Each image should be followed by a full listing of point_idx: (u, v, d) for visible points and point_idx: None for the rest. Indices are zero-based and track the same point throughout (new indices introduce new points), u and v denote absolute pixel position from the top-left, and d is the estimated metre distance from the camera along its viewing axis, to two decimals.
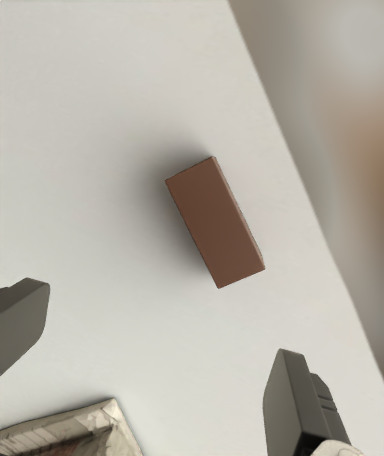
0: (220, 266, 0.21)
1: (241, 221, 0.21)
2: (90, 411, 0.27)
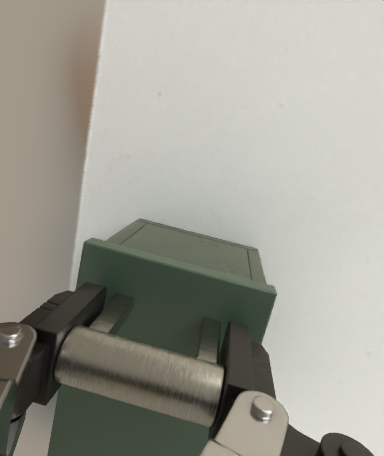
0: None
1: None
2: None
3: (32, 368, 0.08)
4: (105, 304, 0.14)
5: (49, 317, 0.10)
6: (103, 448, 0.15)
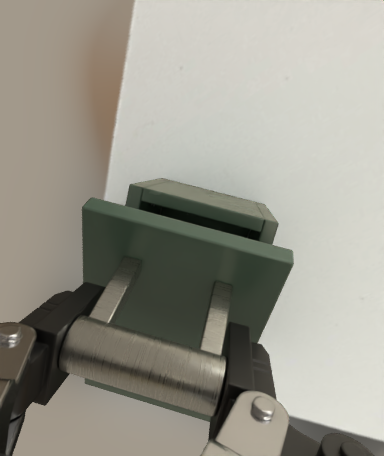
0: None
1: None
2: None
3: (32, 367, 0.08)
4: (114, 264, 0.13)
5: (49, 317, 0.10)
6: None
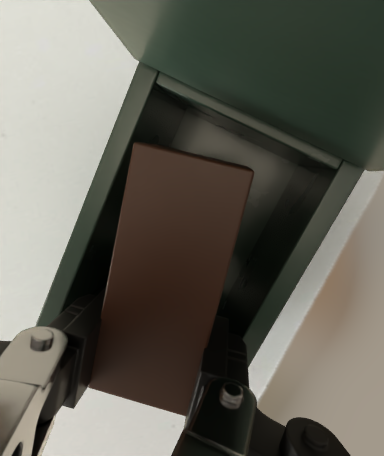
0: (212, 213, 0.09)
1: (113, 260, 0.10)
2: None
3: (63, 372, 0.08)
4: None
5: (76, 321, 0.10)
6: None
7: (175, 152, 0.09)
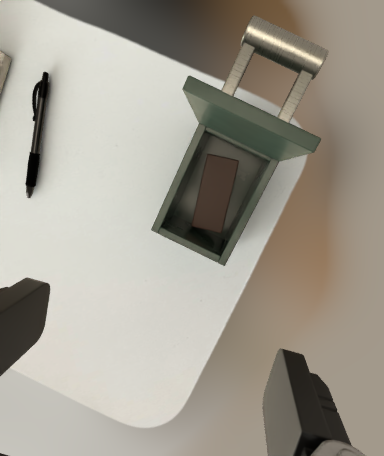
0: (228, 172, 0.34)
1: (200, 186, 0.35)
2: None
3: None
4: None
5: None
6: None
7: (218, 156, 0.34)
